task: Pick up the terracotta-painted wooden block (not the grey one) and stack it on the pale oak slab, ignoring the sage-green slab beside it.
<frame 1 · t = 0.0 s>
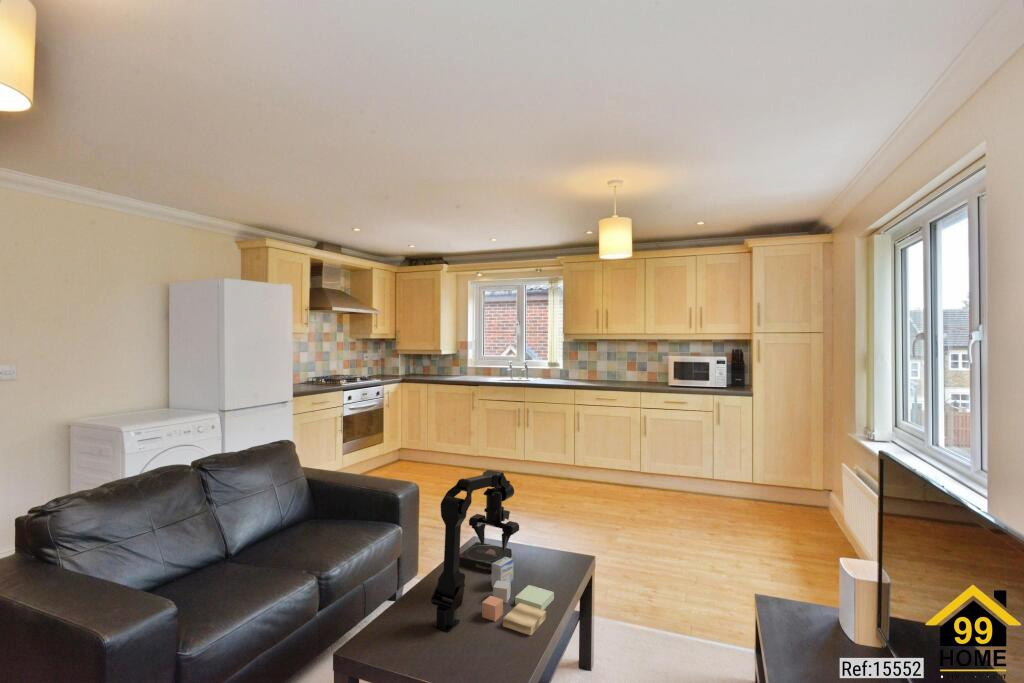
hand: (493, 547, 185), 15 cm above the table, fingers open, 9 cm apart
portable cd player: (485, 562, 207), on the table
medicine box: (502, 584, 188), on the table
green slab: (534, 601, 176), on the table
terracotta block: (492, 615, 166), on the table
grey block: (501, 598, 177), on the table
oak slab: (524, 622, 163), on the table
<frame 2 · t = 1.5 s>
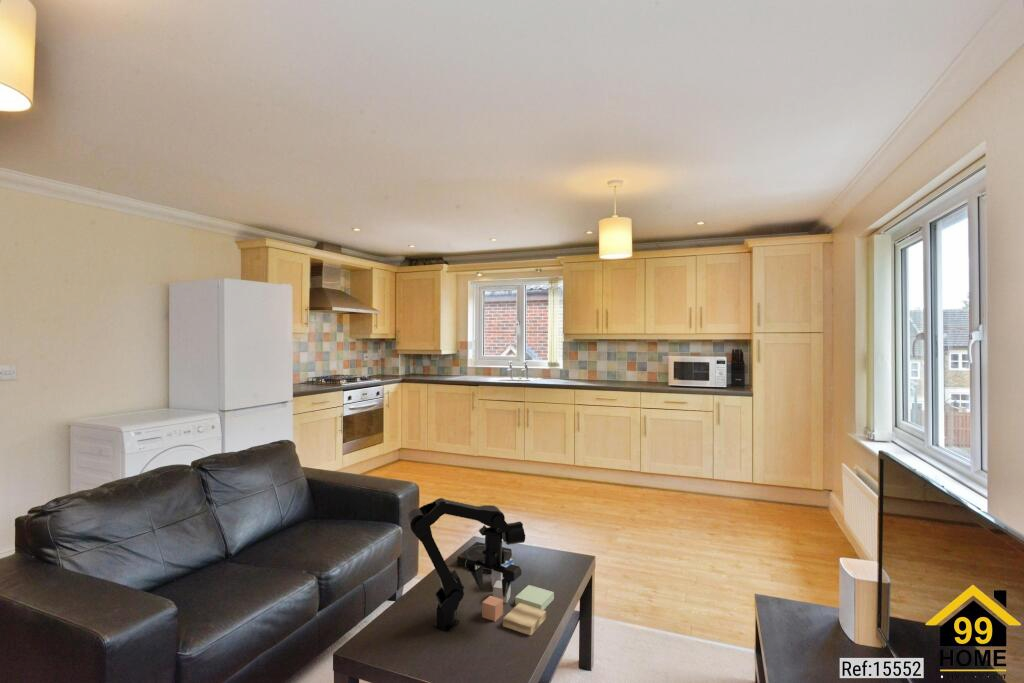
hand: (492, 593, 166), 7 cm above the table, fingers open, 9 cm apart
nothing on the table moved.
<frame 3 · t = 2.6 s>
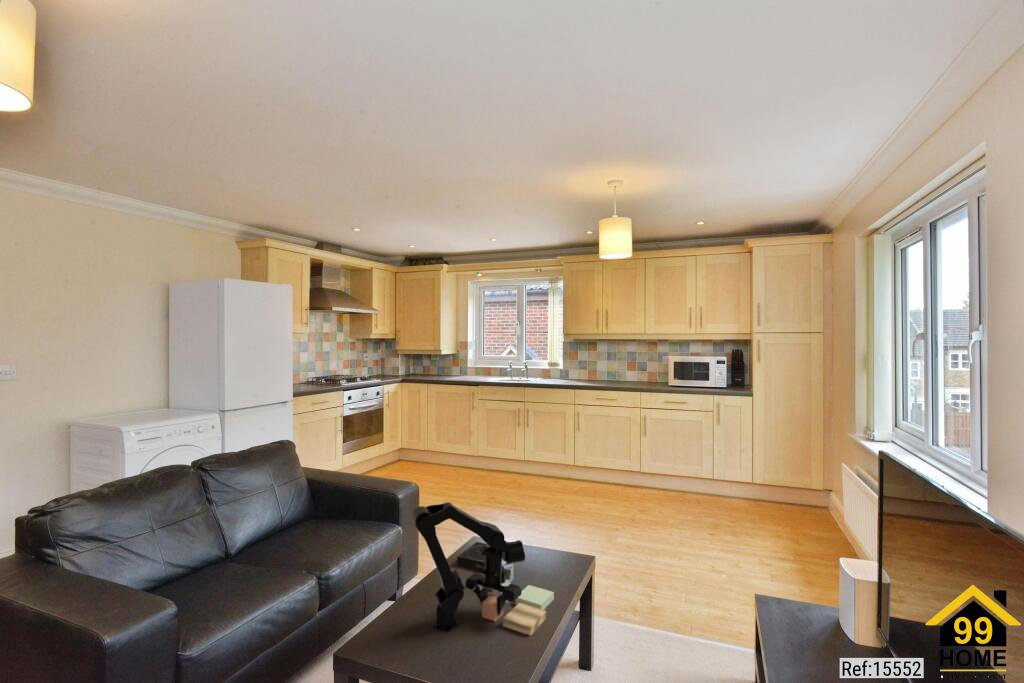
hand: (492, 612, 166), 1 cm above the table, fingers closed on terracotta block, 5 cm apart
terracotta block: (492, 615, 166), on the table, touching gripper
everything else where it was.
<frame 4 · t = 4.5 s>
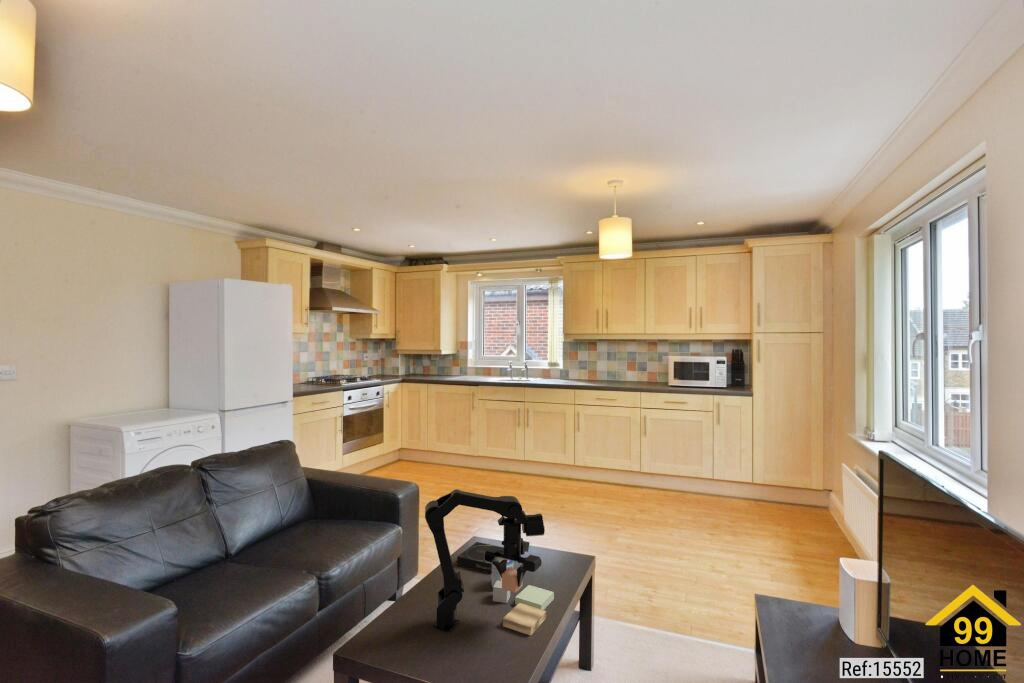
hand: (512, 584, 164), 11 cm above the table, fingers closed on terracotta block, 5 cm apart
terracotta block: (512, 587, 164), point 10 cm above the table, touching gripper
everything else where it was.
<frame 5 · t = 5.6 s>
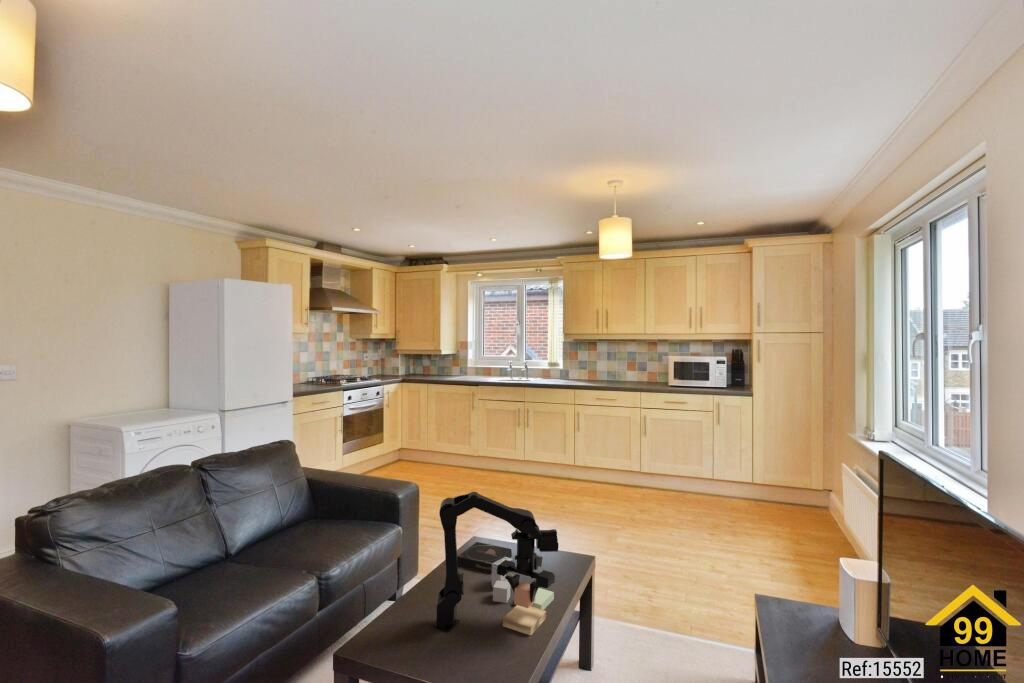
hand: (524, 599, 163), 7 cm above the table, fingers closed on terracotta block, 5 cm apart
terracotta block: (524, 602, 163), point 6 cm above the table, touching gripper
everything else where it was.
when the fingers open (4 cm above the table, at t = 6.5 s): terracotta block stays where it is, resting on oak slab.
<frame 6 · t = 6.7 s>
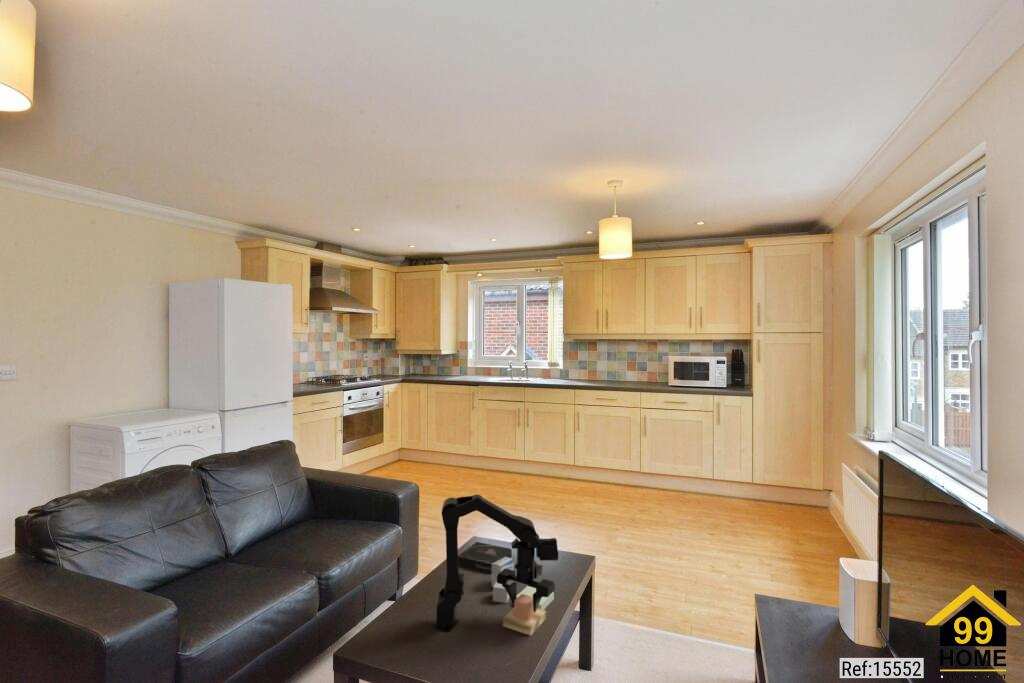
hand: (524, 608, 163), 4 cm above the table, fingers open, 7 cm apart
terracotta block: (524, 614, 163), point 2 cm above the table, touching oak slab
everything else where it was.
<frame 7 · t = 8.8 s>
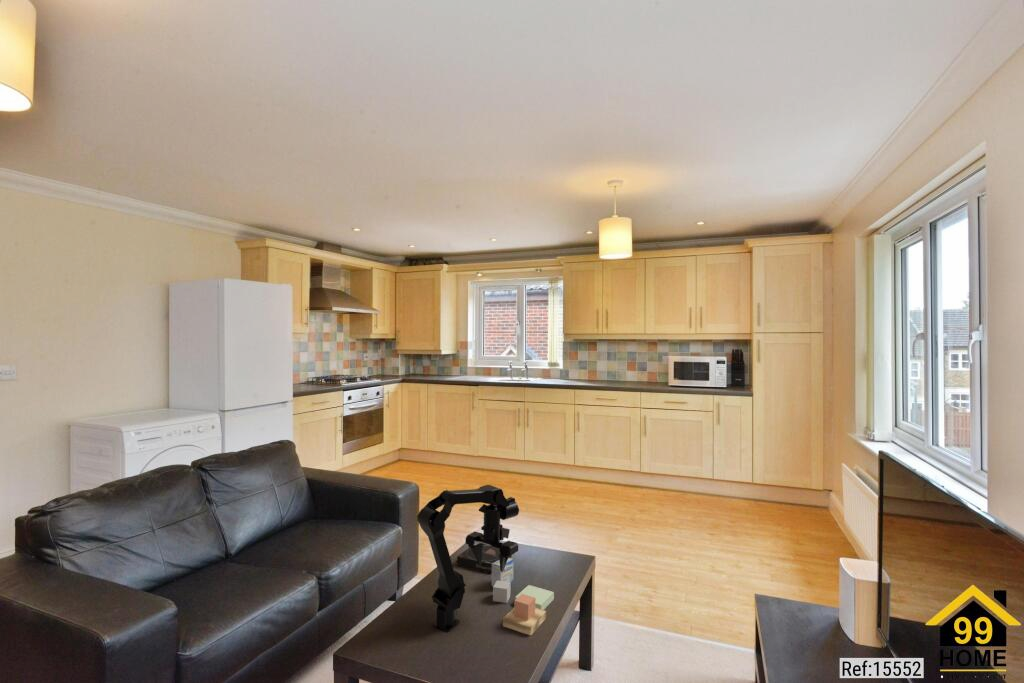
hand: (491, 568, 173), 13 cm above the table, fingers open, 9 cm apart
nothing on the table moved.
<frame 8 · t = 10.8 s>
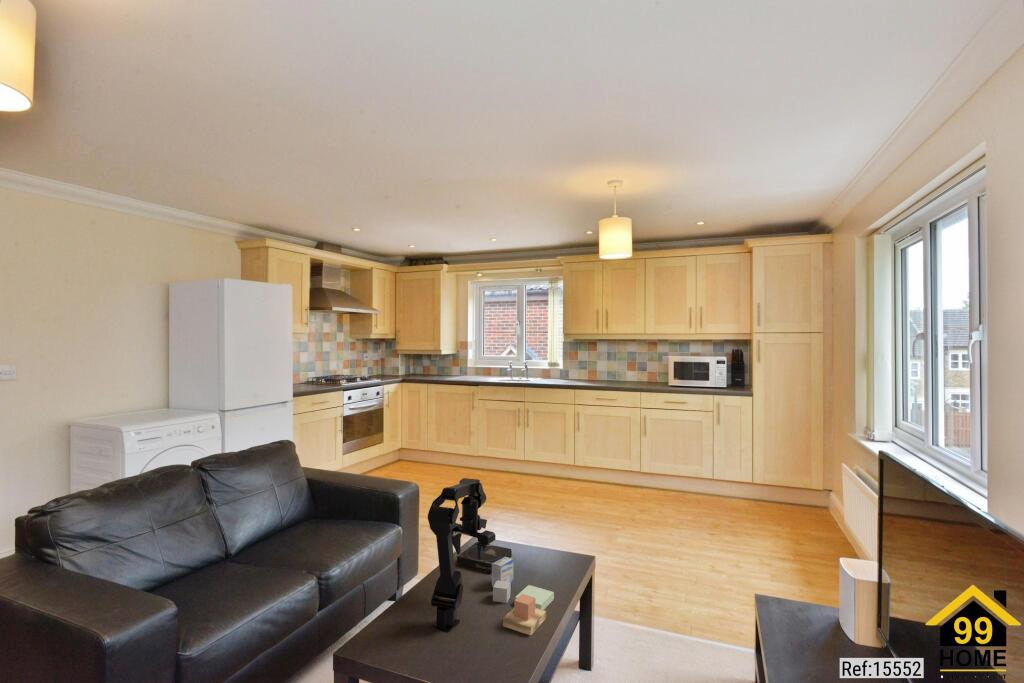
hand: (469, 557, 181), 13 cm above the table, fingers open, 9 cm apart
nothing on the table moved.
at the end: terracotta block 0.1 cm from the oak slab (horizontally); terracotta block point 2.5 cm above the table; terracotta block tilted 0° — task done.
